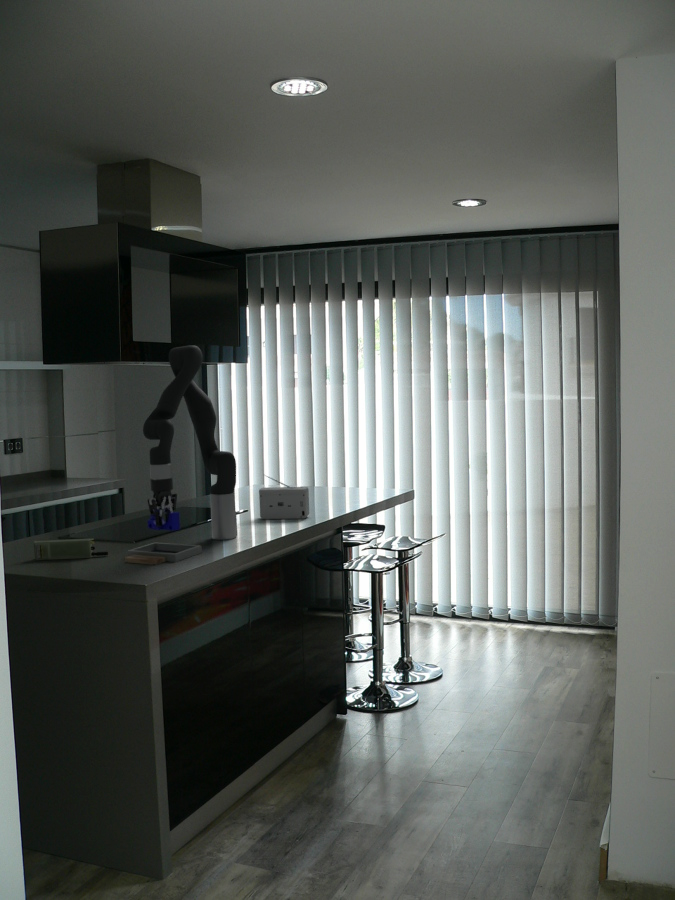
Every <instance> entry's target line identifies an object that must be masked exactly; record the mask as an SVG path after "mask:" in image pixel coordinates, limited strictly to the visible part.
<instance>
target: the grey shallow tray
mask: <svg viewBox="0 0 675 900" xmlns="http://www.w3.org/2000/svg"><path fill="white" fill-rule="evenodd" d="M202 549H203V548H202V545H199V544H198V545H196V544H195V545H194V544H185V543H184V544H182V543H171V542H170V543H167V542H156V541H155V542H152V543H149V544H145V545H142V546H139V547H138V546H137V547H135V548H131V549H128V550H126V552H127V553H126V554H127V556H126V557H129V556H132V555H144V556H157V557H165V562H172V563H177V562H179V561H182V560H185V559H188V558H190V557H193V556H196V555H200V554H201V553H203V550H202ZM156 551H158V552H156ZM159 551H165V552H159ZM172 552H175V553H172Z"/></svg>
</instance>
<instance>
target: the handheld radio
mask: <svg viewBox="0 0 675 900" xmlns="http://www.w3.org/2000/svg"><path fill="white" fill-rule="evenodd" d="M93 540H95V538H76V539H74V538H73V539H54V540H34V541H33V548H34V549H33V550H34V560H35V561H45V560H46V561H48V560H67V559H87V558H92V557H93V556H99V557H100V556H108V555H109V551H97V552H94V550H96V547H95V546H93V545H94V544H95V541H93Z"/></svg>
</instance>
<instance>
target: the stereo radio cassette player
mask: <svg viewBox="0 0 675 900" xmlns="http://www.w3.org/2000/svg"><path fill="white" fill-rule="evenodd" d="M264 477H266V478H269V479H271V480H273V481H274V482H276V483H279V484H281V485H283V486H284V487H282V486H280V487H279V486H278V487H271V486H270V487H261V488H259V490H258V494H259V495H258V497H259V498H258V499H259V515H260V516H259V517H260V518H261V519H262V520H286V519H287V520H289V519H291V520H292V519H293V520H294V519H295V520H296V519H297V520H299V519H302V520H304V519H306V518H307V517H308V516H309V515H310V490H309V487H308V486H289V485H287V484H285V483H283V482H282V481H279V480H277V479H274V478H273V477H270V476H267V475H266V474H264Z"/></svg>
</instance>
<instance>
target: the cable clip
mask: <svg viewBox="0 0 675 900" xmlns="http://www.w3.org/2000/svg"><path fill="white" fill-rule="evenodd" d="M153 512H154V509H153ZM158 513H159V510H158ZM162 525H163V526H162V527H156V521H155V516H153V515H151V514H150V519H147V529H150V530H154V531H155V530H156V531H160V530H161V531H162V530H165V531H172V532H173V531H178V530H181V527H180V526H181V524H180V512H179V511H173V513H169V520H168V522H167V523H166V520H164V518H163V517H162Z"/></svg>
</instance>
